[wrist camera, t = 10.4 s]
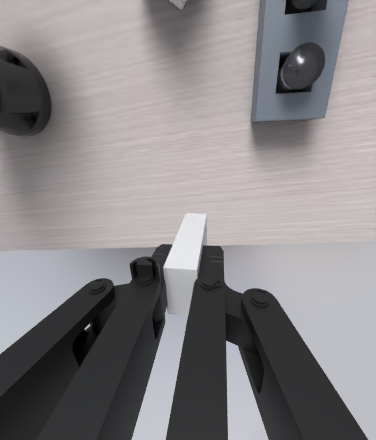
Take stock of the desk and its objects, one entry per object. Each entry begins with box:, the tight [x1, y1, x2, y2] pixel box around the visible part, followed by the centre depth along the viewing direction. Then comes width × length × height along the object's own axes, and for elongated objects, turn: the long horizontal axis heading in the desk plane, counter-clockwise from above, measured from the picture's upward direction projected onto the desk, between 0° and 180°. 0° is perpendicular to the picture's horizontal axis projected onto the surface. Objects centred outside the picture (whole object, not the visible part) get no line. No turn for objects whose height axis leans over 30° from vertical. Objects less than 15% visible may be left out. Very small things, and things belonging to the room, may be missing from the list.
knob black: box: [276, 42, 325, 94], centre depth 30 cm, size 5×5×8 cm
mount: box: [251, 0, 349, 122], centre depth 28 cm, size 10×30×6 cm, turn 2°
